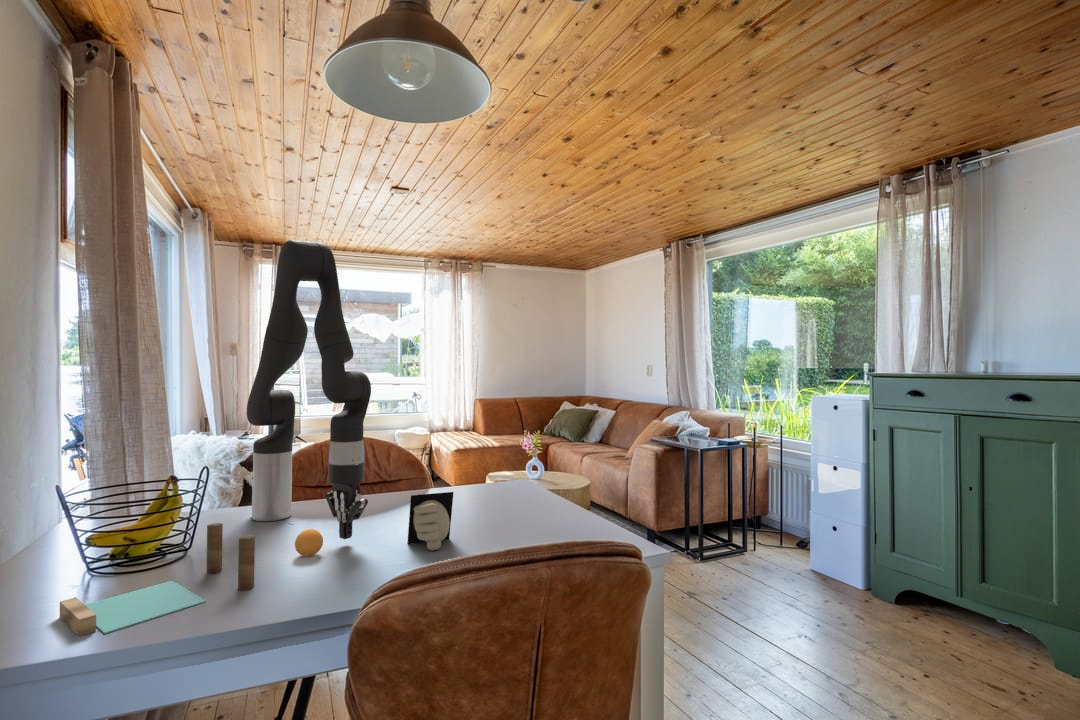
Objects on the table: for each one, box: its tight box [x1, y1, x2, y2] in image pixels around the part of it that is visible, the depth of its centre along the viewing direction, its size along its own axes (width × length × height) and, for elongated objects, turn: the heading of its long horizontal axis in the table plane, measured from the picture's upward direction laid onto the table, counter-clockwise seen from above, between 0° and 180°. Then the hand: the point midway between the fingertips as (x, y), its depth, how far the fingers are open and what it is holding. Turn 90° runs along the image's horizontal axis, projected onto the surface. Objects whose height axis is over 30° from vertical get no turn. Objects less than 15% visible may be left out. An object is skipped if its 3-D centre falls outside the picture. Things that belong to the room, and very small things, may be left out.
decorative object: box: [407, 491, 455, 551], centre depth 123 cm, size 12×10×10 cm
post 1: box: [205, 522, 224, 575], centre depth 107 cm, size 3×3×9 cm
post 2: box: [237, 535, 256, 592], centre depth 100 cm, size 3×3×9 cm
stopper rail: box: [59, 597, 97, 637], centre depth 85 cm, size 10×2×2 cm, turn 54°
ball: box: [294, 528, 324, 557], centre depth 116 cm, size 6×6×6 cm
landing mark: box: [84, 580, 207, 635], centre depth 92 cm, size 14×14×1 cm
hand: (345, 537), depth 123 cm, fingers closed
